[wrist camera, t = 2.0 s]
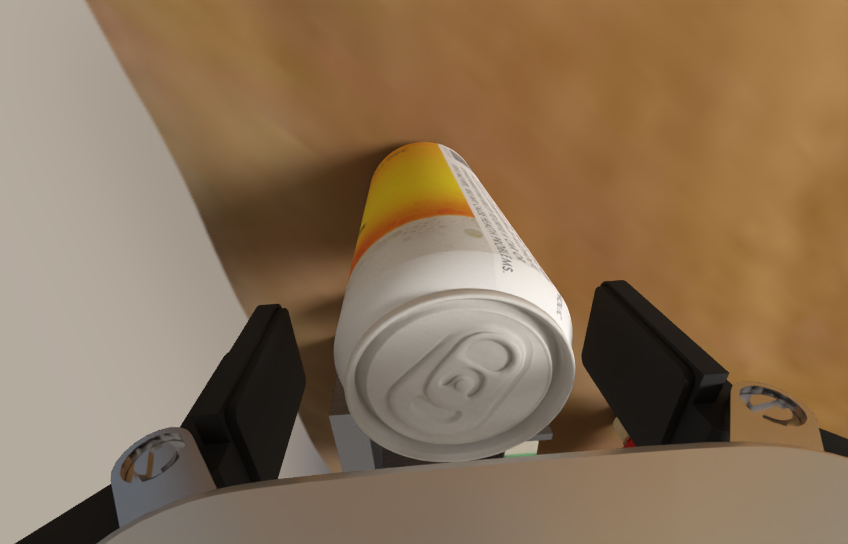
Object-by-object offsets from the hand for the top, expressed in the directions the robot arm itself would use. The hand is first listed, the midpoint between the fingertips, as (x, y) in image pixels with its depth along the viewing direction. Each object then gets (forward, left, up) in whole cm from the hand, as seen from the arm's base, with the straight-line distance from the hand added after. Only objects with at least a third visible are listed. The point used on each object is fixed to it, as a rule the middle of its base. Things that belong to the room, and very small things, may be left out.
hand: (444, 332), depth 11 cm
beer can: (-1, 0, -12) cm, 12 cm away
